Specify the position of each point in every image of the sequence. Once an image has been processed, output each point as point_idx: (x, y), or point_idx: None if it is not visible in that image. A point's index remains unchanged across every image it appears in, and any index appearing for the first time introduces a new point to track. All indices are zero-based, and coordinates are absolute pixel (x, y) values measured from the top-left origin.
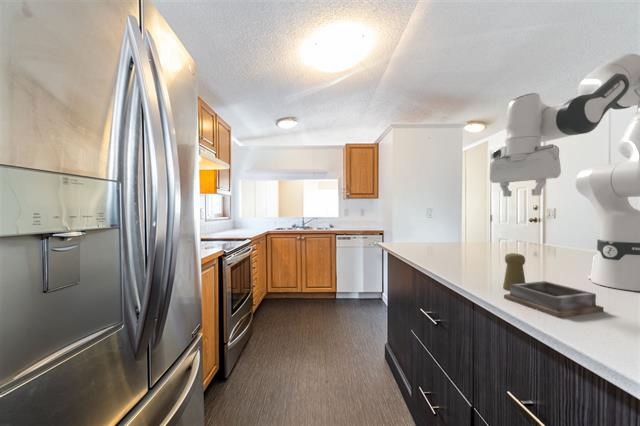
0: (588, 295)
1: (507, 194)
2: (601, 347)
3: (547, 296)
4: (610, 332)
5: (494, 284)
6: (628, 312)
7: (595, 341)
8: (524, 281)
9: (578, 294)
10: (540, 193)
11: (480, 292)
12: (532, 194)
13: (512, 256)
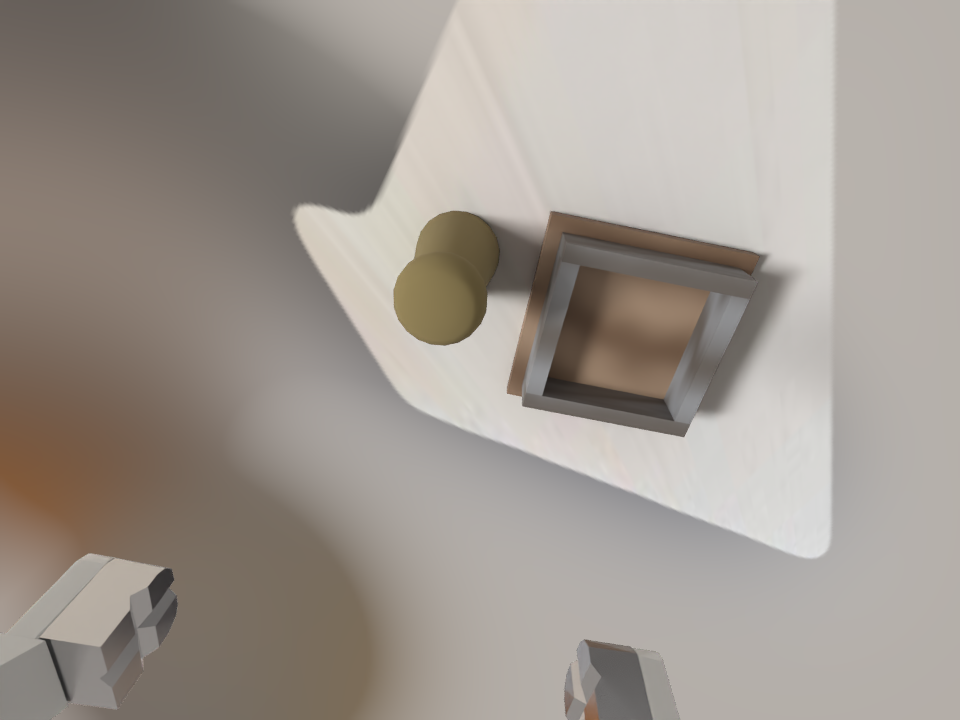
0: (740, 316)
1: (157, 639)
2: (782, 506)
3: (654, 429)
4: (787, 418)
5: (371, 252)
6: (817, 187)
7: (770, 489)
8: (491, 259)
9: (716, 341)
10: (661, 682)
11: (429, 392)
12: (574, 696)
13: (450, 343)
